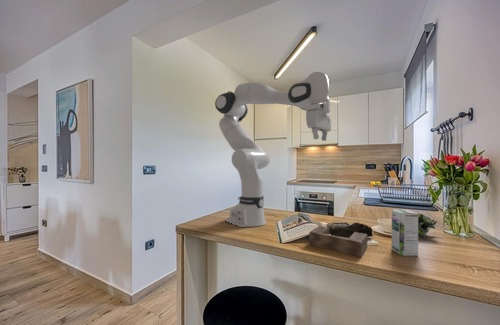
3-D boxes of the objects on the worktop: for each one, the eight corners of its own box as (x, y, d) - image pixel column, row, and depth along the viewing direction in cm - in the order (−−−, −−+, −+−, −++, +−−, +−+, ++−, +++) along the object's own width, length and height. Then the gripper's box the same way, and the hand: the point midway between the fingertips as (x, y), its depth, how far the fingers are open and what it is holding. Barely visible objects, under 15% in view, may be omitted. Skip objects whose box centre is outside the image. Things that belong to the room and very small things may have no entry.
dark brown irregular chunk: (326, 236, 93) (326, 223, 93) (327, 231, 100) (326, 219, 100) (373, 240, 87) (373, 226, 87) (370, 235, 93) (370, 222, 93)
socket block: (309, 245, 83) (309, 232, 83) (319, 237, 91) (319, 225, 91) (361, 257, 72) (361, 242, 72) (367, 247, 79) (367, 234, 79)
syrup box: (390, 249, 78) (390, 209, 78) (407, 249, 78) (407, 209, 78) (401, 256, 72) (400, 212, 72) (419, 256, 72) (419, 212, 72)
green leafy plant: (418, 245, 95) (434, 223, 95) (431, 250, 84) (449, 225, 84) (392, 228, 98) (408, 207, 98) (402, 231, 88) (419, 207, 88)
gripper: (321, 114, 107) (321, 142, 107) (303, 106, 91) (303, 138, 91) (334, 111, 103) (334, 140, 103) (317, 103, 87) (318, 137, 87)
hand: (320, 139), depth 97 cm, fingers open, 8 cm apart
